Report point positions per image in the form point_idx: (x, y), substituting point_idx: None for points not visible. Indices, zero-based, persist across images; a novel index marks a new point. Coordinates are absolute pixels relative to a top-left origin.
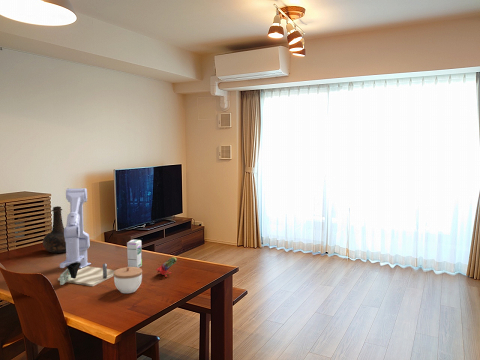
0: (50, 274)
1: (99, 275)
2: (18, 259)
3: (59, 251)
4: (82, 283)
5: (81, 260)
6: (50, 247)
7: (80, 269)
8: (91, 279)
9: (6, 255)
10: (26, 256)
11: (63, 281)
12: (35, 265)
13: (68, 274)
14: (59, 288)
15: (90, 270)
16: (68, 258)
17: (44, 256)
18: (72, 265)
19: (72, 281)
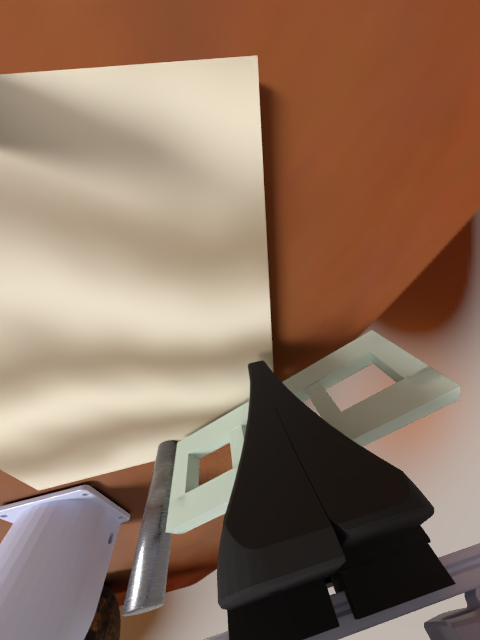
0: None
1: (9, 278)
2: (203, 563)
3: None
4: (265, 254)
5: (44, 555)
6: (107, 626)
7: (106, 469)
8: (155, 249)
9: (203, 576)
10: (177, 572)
11: (375, 349)
12: (205, 536)
13: None
14: (364, 328)
15: (49, 432)
16: None
17: None
18: (391, 533)
19: (271, 350)
